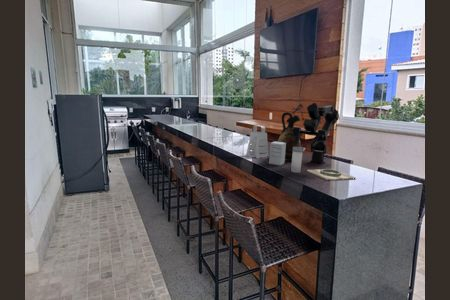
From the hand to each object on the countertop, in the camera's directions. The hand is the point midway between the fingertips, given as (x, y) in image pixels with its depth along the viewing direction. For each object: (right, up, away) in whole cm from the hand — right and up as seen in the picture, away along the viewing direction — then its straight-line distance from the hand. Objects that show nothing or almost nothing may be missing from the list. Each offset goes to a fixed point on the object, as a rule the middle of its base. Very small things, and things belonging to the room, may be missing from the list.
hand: (304, 144), depth 150 cm
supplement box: (-13, -11, +13) cm, 21 cm away
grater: (-22, -7, +32) cm, 40 cm away
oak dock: (+11, -16, -8) cm, 21 cm away
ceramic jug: (-4, -9, +28) cm, 29 cm away
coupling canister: (-6, -14, -4) cm, 16 cm away
